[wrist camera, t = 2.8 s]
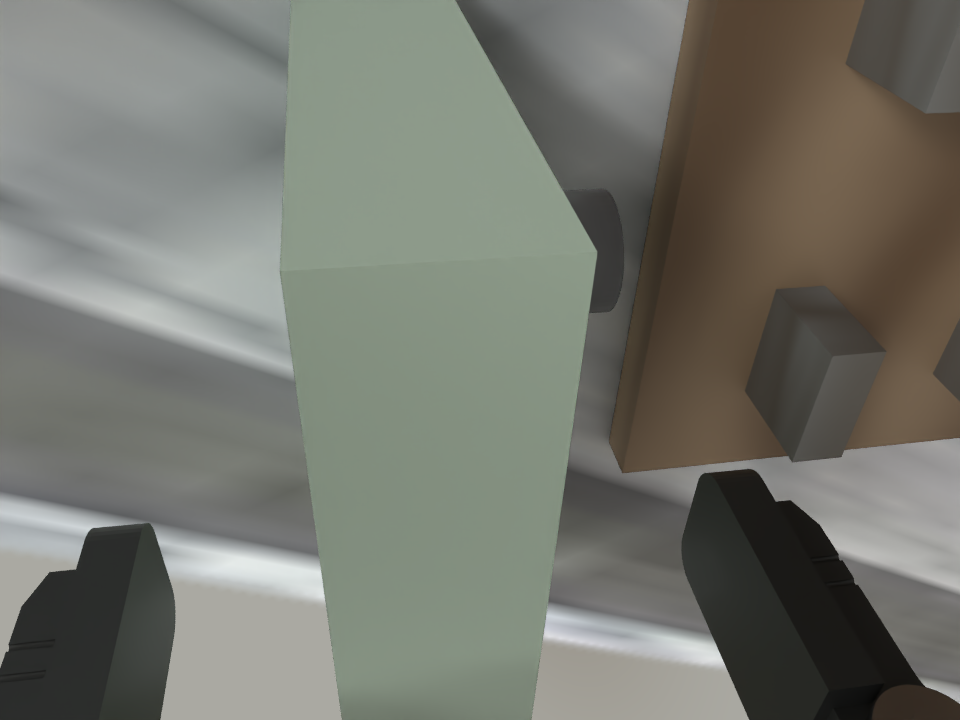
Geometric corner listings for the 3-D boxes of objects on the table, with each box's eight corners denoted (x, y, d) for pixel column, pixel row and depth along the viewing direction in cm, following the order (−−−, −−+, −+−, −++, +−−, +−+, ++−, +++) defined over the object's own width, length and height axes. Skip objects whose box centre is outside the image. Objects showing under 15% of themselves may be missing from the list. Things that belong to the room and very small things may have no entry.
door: (342, 465, 21) (366, 898, 13) (292, -39, 14) (280, 271, 6) (471, 452, 21) (566, 861, 14) (490, -39, 14) (719, 243, 6)
